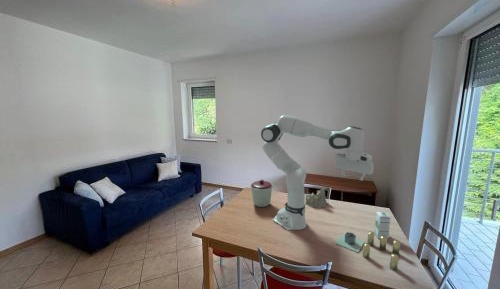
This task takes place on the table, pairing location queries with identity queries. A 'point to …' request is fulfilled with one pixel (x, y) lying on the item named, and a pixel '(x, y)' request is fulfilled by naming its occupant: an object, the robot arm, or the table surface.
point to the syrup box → (382, 224)
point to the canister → (261, 193)
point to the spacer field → (383, 247)
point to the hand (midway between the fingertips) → (352, 178)
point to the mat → (355, 247)
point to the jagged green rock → (316, 199)
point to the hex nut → (350, 238)
